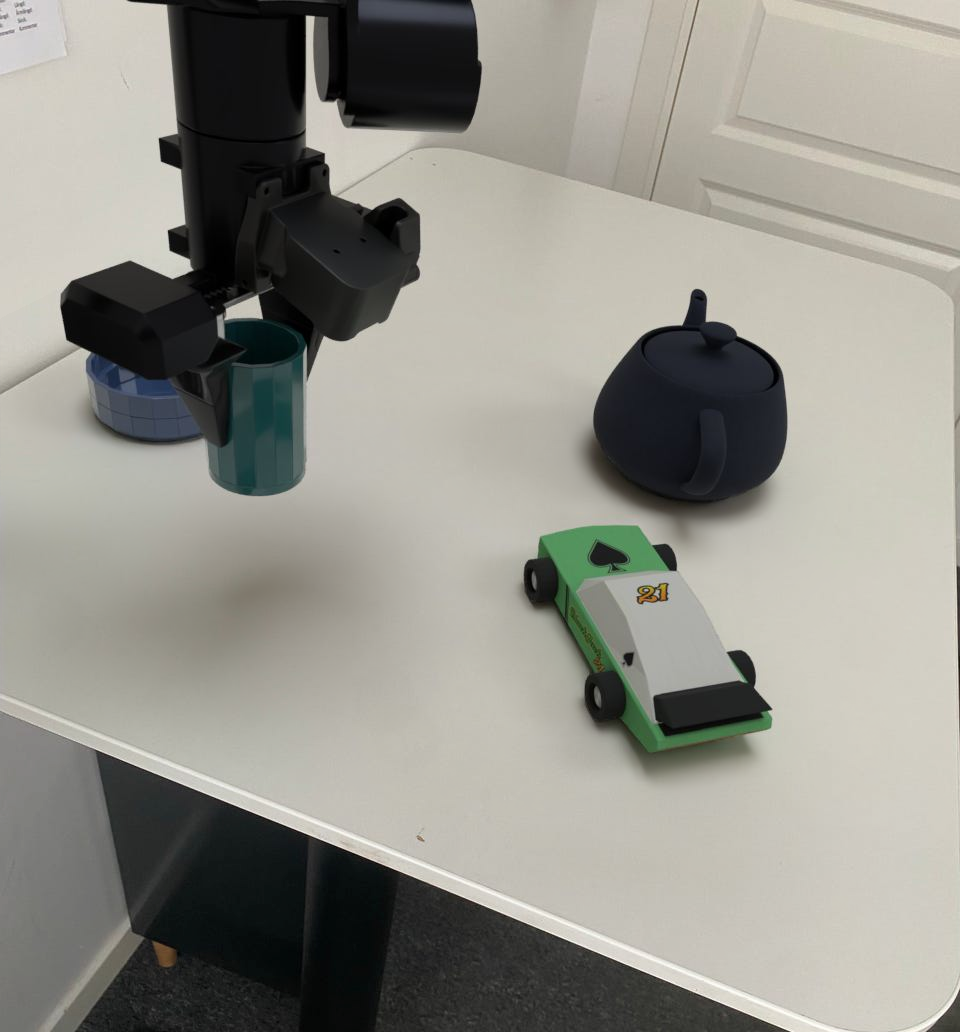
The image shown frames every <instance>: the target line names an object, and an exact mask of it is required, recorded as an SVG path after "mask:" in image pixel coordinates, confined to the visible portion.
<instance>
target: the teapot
mask: <svg viewBox="0 0 960 1032" xmlns="http://www.w3.org/2000/svg"><path fill="white" fill-rule="evenodd" d="M688 305H689V306H688V308H687V312H686V315H685V318H684V320H683V323H682V324H675V325H666V326H660V327H657V328H654V329H651V330H649V331H647V332H645V333H644V334H643V335H641V336H640V337H639V338H638V339H637V340H636V341H635V342H634V344H633V345H632V346H631V347H630V349H628V350H627V352H626V353H625V355H623V357H622V358H621V359H620V361H619V362H618V363H617V364H616V366H615V367H614V368H613V370H612V371H611V373H610V375H608V377H607V379H606V381H604V384H603V386H602V387H601V390H600V391H599V394H598V396H597V399H596V402H595V405H594V409H593V415H592V422H593V430H594V435H595V438H596V440H597V443H598V445H599V447H600V448H601V450H602V451H603V453H604V455H605V456H606V457H607V458H608V460H609V461H610V462H611V463H612V464H613V465H614V466H615V467H616V469H617V470H618V471H619V473H621V474H622V475H623V476H624V477H625V478H626V479H628V480H629V481H631V482H632V483H633V484H635V485H637V486H638V487H640V488H642V489H644V490H646V491H648V492H651V493H653V494H656V495H658V496H662V497H664V498H669V499H672V500H677V501H684V502H690V503H691V502H693V503H709V502H719V501H723V500H726V499H729V498H732V497H735V496H739V495H742V494H744V493H747V492H749V491H752V490H754V489H755V488H758V487H759V486H761V485H762V484H763V483H765V482H766V481H767V480H768V479H770V477H771V476H772V475H773V474H774V473H775V472H776V471H777V469H778V467H779V465H780V464H781V462H782V459H783V457H784V454H785V450H786V445H787V439H788V424H789V422H788V403H787V393H786V385H785V378H784V373H783V370H782V368H781V366H780V364H779V362H778V361H777V360H776V359H775V358H774V356H772V354H770V353H769V352H768V351H766V350H765V349H764V348H763V347H761V346H759V345H758V344H756V343H754V342H752V341H750V340H748V339H745V338H744V337H741V336H739V335H738V333H737V331H736V329H735V328H733V327H732V326H731V325H729V324H727V323H725V322H721V321H720V322H719V321H713V320H711V321H710V320H709V321H707V312H708V311H707V308H708V296H707V294H706V293H705V291H704V290H702V289H700V288H695V289H693V290H692V291H691V293H690V297H689V304H688Z"/></svg>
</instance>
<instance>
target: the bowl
mask: <svg viewBox="0 0 960 1032" xmlns="http://www.w3.org/2000/svg"><path fill="white" fill-rule="evenodd" d="M85 375H86V380H87V385H88V391H89V396H90V402H91V406H92V407H91V408H92V411H93V413H94V414H95V416H96V417H97V418H98V419H99V421H100V422H101V423H103V424H104V425H106V426H108V427H110V428H111V429H112V430H113V431H115V432H117V433H119V434H121V435H123V436H126V437H129V438H133V439H136V440H141V441H147V442H148V441H149V442H175V441H181V440H182V441H183V440H188V439H191V438H194V437H198V436H201V435H204V434H203V433H202V431H201V430H200V428H199V426H198V425H197V423H196V422H195V420H194V418H193V417H192V415H191V414H190V412H189V410H188V409H187V407H186V406H185V404H184V403H183V401H182V399H181V398H180V396H179V395H178V393H177V391H176V390H175V388H174V387H173V385H172V384H171V382H170V381H169V379H167V380H146V379H144V378H142V377H140V376H138V375H136V374H134V373H132V372H130V371H128V370H126V369H124V368H122V367H120V366H118V365H116V364H114V363H112V362H110V361H108V360H106V359H103V358H101V357H99V356H97V355H95V354H93V353H91V352H89V355H88V356H87V357H86V359H85Z"/></svg>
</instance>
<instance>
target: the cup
mask: <svg viewBox="0 0 960 1032" xmlns="http://www.w3.org/2000/svg"><path fill="white" fill-rule="evenodd" d="M225 335H226V339H227V340H229V341H232V342H234V343H236V344H238V345H240V346H243V347H245V348H246V349H247V350H246V352H245V353H244V354H243V355H242V356H241V357H240V358H239V359H237V360H236V361H235V362H234V363H233V364H231V365H230V366H229V369H228V384H229V430H228V440H227V445H226V446H224V447H223V448H219V447H217V446H215V445H213V444H211V443H210V442H208V440H207V439H206V437H205V436H204V447H205V459H206V462H207V472H208V474H209V477H210V479H211V480H212V481H213V482H214V483H215V484H216V485H217V486H218V487H220V488H222V489H224V490H225V491H228V492H230V493H232V494H236V495H241V496H246V497H269V496H276V495H280V494H283V493H286V492H289V491H290V490H292V489H294V488H296V487H297V486H298V485H299V484H300V483H301V482H302V481H303V479H304V478H305V475H306V471H307V460H308V455H307V453H308V452H307V449H308V446H307V445H308V443H307V442H308V439H307V436H308V435H307V434H308V433H307V431H308V430H307V426H308V423H307V422H308V421H307V419H308V416H307V415H308V414H307V413H308V412H307V411H308V410H307V408H308V407H307V406H308V404H307V403H308V402H307V401H308V400H307V399H308V395H307V393H308V392H307V391H308V389H307V388H308V385H307V383H308V381H307V344H306V342H305V340H304V338H303V336H302V334H300V333H299V332H297V331H296V330H295V329H293V328H292V327H290V326H288V325H285V324H282V323H279V322H276V321H273V320H267V319H263V318H258V317H235V318H234V317H233V318H228V319H225Z"/></svg>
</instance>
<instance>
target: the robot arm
mask: <svg viewBox="0 0 960 1032" xmlns="http://www.w3.org/2000/svg"><path fill="white" fill-rule="evenodd" d="M126 2H130V3H135V4H136V3H137V4H149V5H161V6H166V11H167V25H168V35H169V36H168V37H169V47H170V60H171V71H172V82H173V94H174V106H175V117H176V119H175V121H176V131H177V133H173V134H170V135H165V136H161V137H158V138H157V139H158V146H159V147H158V148H159V158H160V163H163V164H165V165H168V166H171V167H173V168H176V169H179V170H180V177H181V178H180V179H181V189H182V203H183V212H184V224H182V225H179V226H176V227H173V228H170V229H167V238H168V239H167V240H168V248H169V249H168V251H169V252H171V253H174V254H176V255H178V256H180V257H183V258H185V259H187V260H189V266H190V268H191V269H192V270H190V271H188V272H187V273H185V274H182V275H179V276H177V277H174V278H171V277H169V276H166V275H164V274H162V273H160V272H158V271H156V270H153V269H151V268H149V267H146V266H144V265H142V264H139V263H137V262H135V261H132V260H126V261H123V262H121V263H118V264H116V265H113V266H110V267H106V268H104V269H101V270H98V271H95V272H93V273H90V274H86V275H84V276H80V277H78V278H75V279H73V280H70V282H69V283H68V284H67V285H66V286H65V288H64V289H63V290H62V291H61V293H60V300H59V302H60V304H59V308H60V314H61V319H62V325H63V329H64V335H65V340H66V341H67V342H69V343H71V344H73V345H75V346H77V347H79V348H80V349H83V350H84V351H85V350H86V351H87V352H89V353H93V354H95V355H97V356H99V357H101V358H103V359H106V360H108V361H110V362H112V363H114V364H116V365H118V366H120V367H122V368H124V369H126V370H128V371H130V372H132V373H134V374H136V375H138V376H140V377H142V378H144V379H146V380H167V379H169V381H170V382H171V384H172V385H173V387H174V388H175V390H176V391H177V393H178V395H179V396H180V398H181V399H182V401H183V403H184V404H185V406H186V407H187V409H188V410H189V412H190V414H191V415H192V417H193V418H194V420H195V422H196V423H197V425H198V426H199V428H200V430H201V431H202V433H203V434H202V435H203V436H204V438H205V437H206V439H207V440H208V442H210V443H211V444H213V445H215V446H217V447H219V448H223V447H224V446H226V445H227V440H228V430H229V384H228V369H229V366H230V365H231V364H233V363H234V362H235V361H236V360H237V359H239V358H240V357H241V356H242V355H243V354H244V353H245V352H246V350H247V349H246V348H245V347H243V346H240V345H238V344H236V343H234V342H232V341H229V340H227V339H226V335H225V320H226V318H227V309H229V308H231V307H233V306H236V305H239V304H241V303H243V302H245V301H248V300H250V299H252V298H254V297H256V296H257V298H258V302H259V307H260V313H261V316H262V319H267V320H273V321H276V322H279V323H282V324H285V325H288V326H290V327H292V328H293V329H295V330H296V331H297V332H299V333H300V334H302V336H303V338H304V340H305V342H306V344H307V382H308V381H309V378H310V375H311V373H312V370H313V366H314V365H315V361H316V360H317V359H316V358H317V356H318V353H319V350H320V348H321V345H322V342H323V340H324V337H325V338H327V339H329V340H331V341H335V342H348V341H350V340H352V339H354V338H355V337H357V335H359V333H361V332H362V331H365V330H366V329H368V328H370V327H373V326H374V325H376V324H379V325H380V324H383V323H385V322H386V321H388V319H389V318H390V315H391V313H392V310H393V309H394V305H395V303H396V301H397V299H398V297H399V294H400V291H401V290H402V289H403V288H404V287H407V286H409V285H410V284H412V283H414V282H417V281H419V279H420V277H421V271H420V267H419V266H418V262H419V260H420V257H421V256H420V253H421V247H422V245H421V214H420V213H419V212H418V211H416V209H415V208H413V207H412V206H411V205H409V203H407V202H406V201H405V200H404V199H403V198H401V197H397V198H394V199H392V200H389V201H387V202H383V203H381V204H379V205H377V206H375V207H374V208H373V209H371V208H369V207H365V206H363V205H361V204H360V203H359V202H358V203H356V202H353V201H350V200H348V199H344V198H342V197H339V196H337V195H333V194H332V190H331V183H330V177H331V175H330V174H331V171H330V166H329V165H328V163H326V153H325V152H322V151H319V150H317V149H315V148H311V147H308V146H307V17H314V19H313V31H312V32H313V33H312V35H313V36H312V54H313V57H312V58H313V59H312V60H313V71H314V73H313V74H314V81H315V87H316V92H317V95H318V98H319V100H320V102H321V103H327V104H328V103H331V104H334V103H336V106H337V111H338V115H339V118H340V121H341V124H342V125H343V127H344V128H346V129H352V130H353V129H355V130H374V131H375V130H378V131H400V132H401V131H402V132H420V133H421V132H422V133H423V132H424V133H425V132H426V133H448V134H463V133H464V132H466V131H467V130H468V129H469V127H470V125H471V124H472V121H473V119H474V116H475V113H476V110H477V106H478V101H479V96H480V90H481V85H482V74H483V64H482V62H481V60H480V59H479V38H478V37H479V36H478V35H479V34H478V25H477V18H476V11H475V8H474V4H473V1H472V0H126Z"/></svg>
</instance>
